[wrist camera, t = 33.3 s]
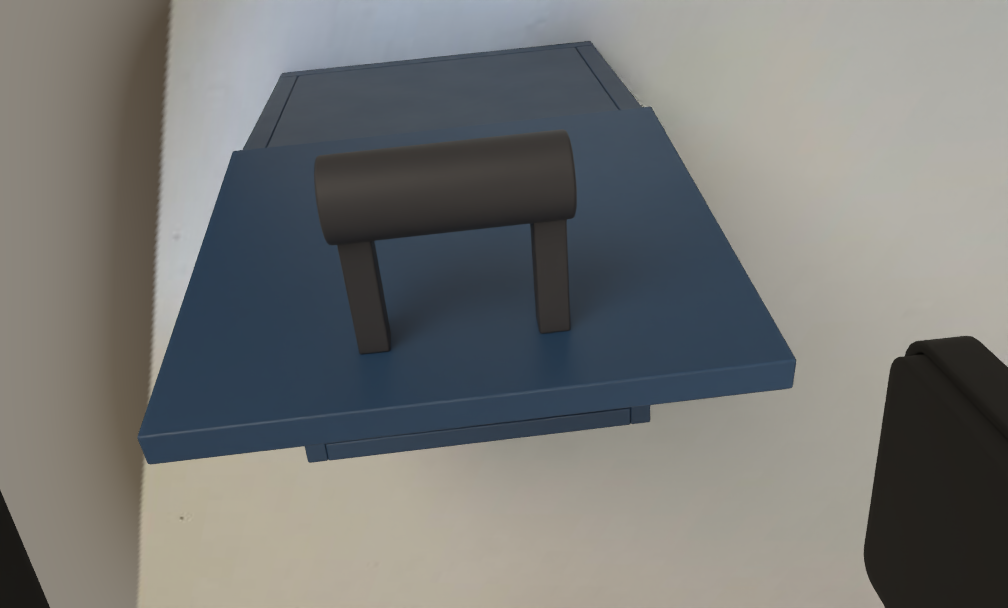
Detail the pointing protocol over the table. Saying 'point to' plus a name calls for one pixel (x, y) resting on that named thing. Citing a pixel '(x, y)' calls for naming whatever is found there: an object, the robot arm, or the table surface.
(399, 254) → the cooler lid
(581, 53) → the cooler
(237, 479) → the table surface
